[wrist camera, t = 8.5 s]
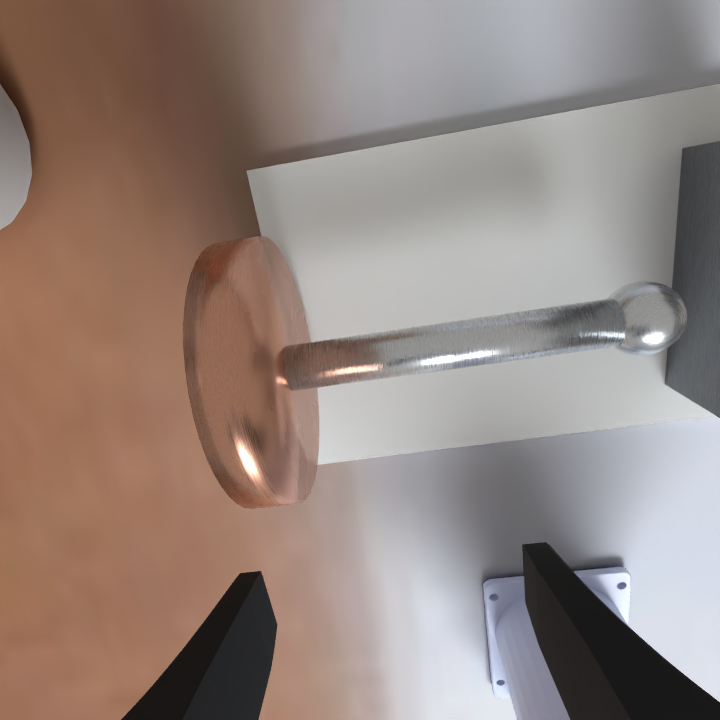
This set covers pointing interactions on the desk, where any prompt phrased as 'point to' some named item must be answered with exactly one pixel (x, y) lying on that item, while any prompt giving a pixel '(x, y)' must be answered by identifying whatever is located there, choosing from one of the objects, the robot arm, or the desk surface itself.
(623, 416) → the base board
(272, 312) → the bolt with copper washer
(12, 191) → the can
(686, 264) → the square hole plate
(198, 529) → the desk surface
